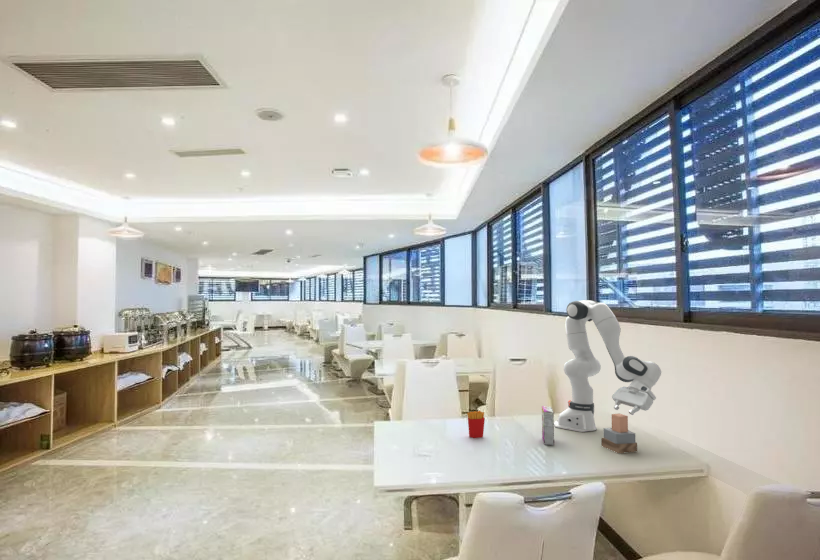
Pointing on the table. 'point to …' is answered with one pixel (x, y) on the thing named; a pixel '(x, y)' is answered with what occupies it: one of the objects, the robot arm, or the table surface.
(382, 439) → the table surface
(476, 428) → the french fries
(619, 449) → the walnut slab
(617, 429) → the terracotta block
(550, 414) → the candy bar box
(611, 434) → the charcoal slab
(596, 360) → the robot arm
